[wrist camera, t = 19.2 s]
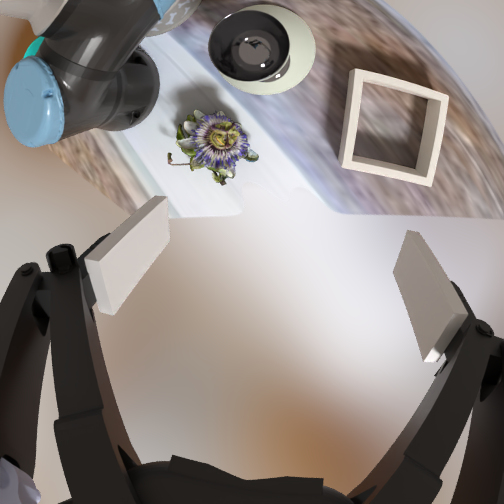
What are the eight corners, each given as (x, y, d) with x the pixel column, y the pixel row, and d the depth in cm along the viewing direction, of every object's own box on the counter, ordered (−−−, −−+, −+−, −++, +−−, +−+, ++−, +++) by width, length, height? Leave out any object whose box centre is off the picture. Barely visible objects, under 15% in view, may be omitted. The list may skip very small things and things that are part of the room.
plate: (211, 92, 40) (209, 92, 39) (218, 6, 32) (216, 4, 31) (310, 100, 39) (310, 100, 38) (318, 11, 31) (318, 9, 30)
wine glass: (296, 39, 33) (294, 14, 20) (289, 88, 37) (283, 86, 24) (241, 33, 33) (213, 8, 21) (235, 82, 38) (203, 78, 25)
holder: (337, 159, 43) (341, 167, 38) (349, 71, 35) (355, 68, 31) (419, 177, 41) (431, 187, 37) (435, 94, 34) (448, 96, 29)
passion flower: (242, 124, 47) (276, 148, 39) (206, 174, 51) (231, 208, 43) (190, 91, 39) (214, 107, 32) (152, 148, 43) (166, 180, 35)
